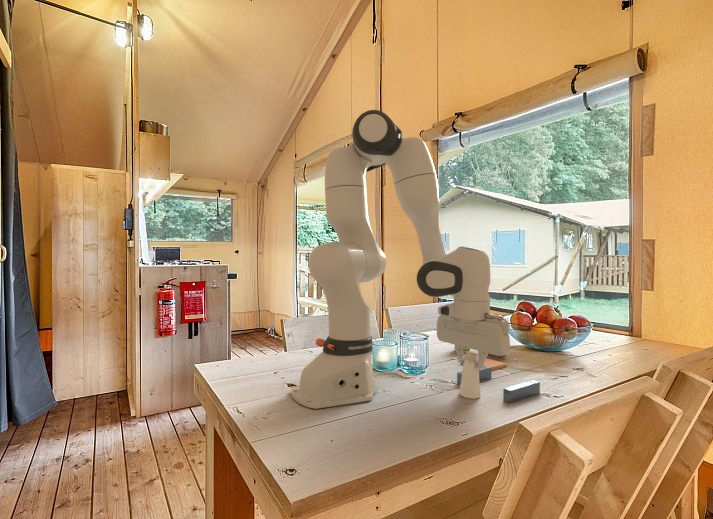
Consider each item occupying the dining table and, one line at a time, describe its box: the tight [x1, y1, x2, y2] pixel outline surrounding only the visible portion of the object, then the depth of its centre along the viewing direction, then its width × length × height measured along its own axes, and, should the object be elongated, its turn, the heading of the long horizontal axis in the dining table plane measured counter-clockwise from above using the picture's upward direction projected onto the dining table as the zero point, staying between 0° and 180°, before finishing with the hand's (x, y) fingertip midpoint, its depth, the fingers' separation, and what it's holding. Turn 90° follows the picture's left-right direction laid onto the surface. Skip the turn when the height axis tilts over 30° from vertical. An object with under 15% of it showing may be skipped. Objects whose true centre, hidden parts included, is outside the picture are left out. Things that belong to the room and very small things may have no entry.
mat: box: [459, 356, 507, 372], centre depth 124 cm, size 10×10×1 cm
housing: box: [456, 366, 541, 404], centre depth 103 cm, size 12×17×3 cm
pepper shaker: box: [459, 350, 482, 400], centre depth 98 cm, size 5×5×11 cm
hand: (470, 365), depth 98 cm, fingers closed on pepper shaker, 4 cm apart
